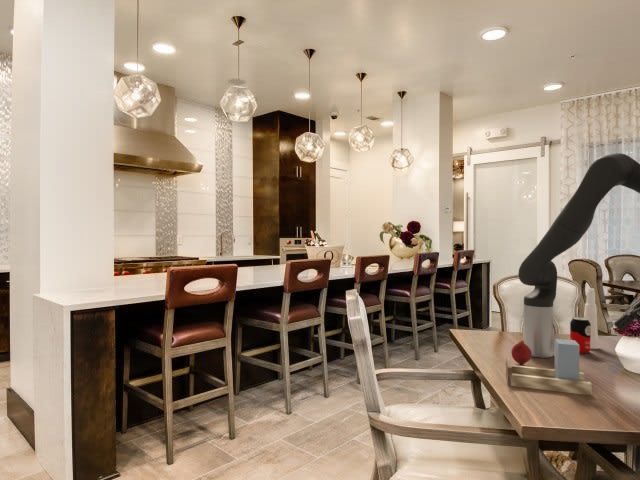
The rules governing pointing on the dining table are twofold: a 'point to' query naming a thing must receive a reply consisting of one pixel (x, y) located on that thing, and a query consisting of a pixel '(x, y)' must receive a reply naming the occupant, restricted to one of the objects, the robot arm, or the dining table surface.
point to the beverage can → (581, 333)
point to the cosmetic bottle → (592, 318)
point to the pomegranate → (521, 353)
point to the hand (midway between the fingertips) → (617, 327)
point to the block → (566, 359)
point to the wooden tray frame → (544, 379)
